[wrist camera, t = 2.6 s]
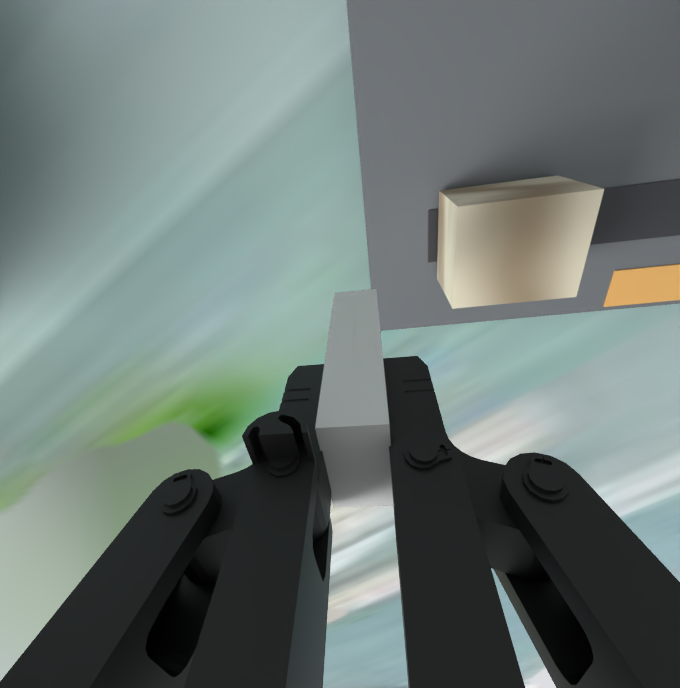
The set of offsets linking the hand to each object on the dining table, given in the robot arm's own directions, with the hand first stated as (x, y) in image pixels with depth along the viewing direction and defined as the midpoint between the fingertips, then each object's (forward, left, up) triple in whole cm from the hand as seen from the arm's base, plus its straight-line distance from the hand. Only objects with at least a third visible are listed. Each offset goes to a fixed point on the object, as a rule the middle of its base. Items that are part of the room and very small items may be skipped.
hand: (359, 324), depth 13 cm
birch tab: (+8, 0, -9) cm, 12 cm away
